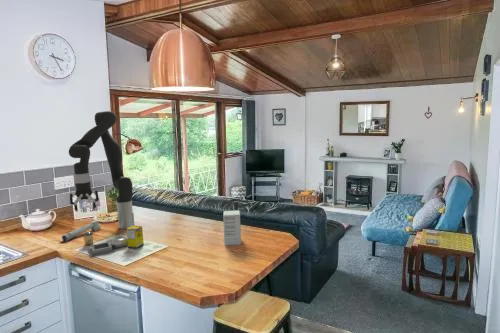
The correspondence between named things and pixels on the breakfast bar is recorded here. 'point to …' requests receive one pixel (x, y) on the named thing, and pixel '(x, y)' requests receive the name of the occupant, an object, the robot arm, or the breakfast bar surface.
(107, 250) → the grey slotted holder
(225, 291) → the breakfast bar surface
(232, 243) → the supplement box
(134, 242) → the supplement box
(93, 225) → the grey long rod
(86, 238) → the tan grey cylinder
